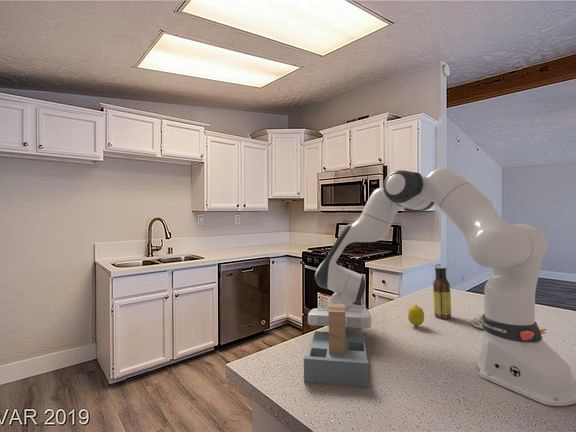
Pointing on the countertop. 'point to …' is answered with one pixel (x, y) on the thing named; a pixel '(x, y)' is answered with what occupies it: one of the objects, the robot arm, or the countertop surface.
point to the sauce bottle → (441, 294)
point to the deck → (337, 362)
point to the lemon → (416, 315)
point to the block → (337, 329)
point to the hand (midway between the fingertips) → (338, 326)
